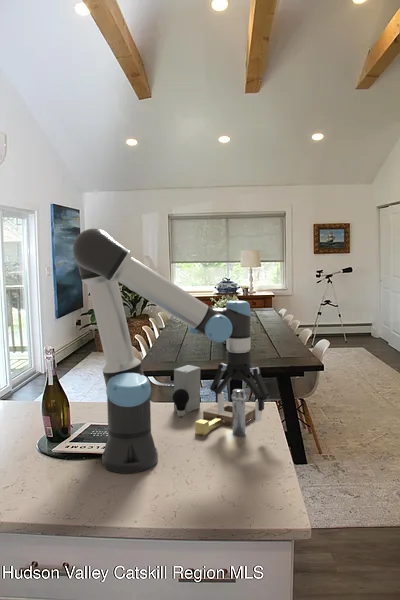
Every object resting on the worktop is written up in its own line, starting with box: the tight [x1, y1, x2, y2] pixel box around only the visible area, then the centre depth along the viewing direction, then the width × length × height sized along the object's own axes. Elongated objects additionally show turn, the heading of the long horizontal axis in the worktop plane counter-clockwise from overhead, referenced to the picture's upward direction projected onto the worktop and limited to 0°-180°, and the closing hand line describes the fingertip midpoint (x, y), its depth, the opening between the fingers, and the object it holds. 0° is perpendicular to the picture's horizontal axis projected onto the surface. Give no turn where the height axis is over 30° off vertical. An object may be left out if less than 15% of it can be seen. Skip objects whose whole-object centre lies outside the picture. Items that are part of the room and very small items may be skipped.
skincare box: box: [173, 364, 201, 414], centre depth 175 cm, size 8×7×16 cm
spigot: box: [231, 388, 247, 437], centre depth 150 cm, size 5×5×14 cm
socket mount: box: [202, 400, 255, 427], centre depth 166 cm, size 14×14×3 cm
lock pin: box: [194, 418, 223, 437], centre depth 155 cm, size 12×3×4 cm, turn 146°
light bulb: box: [172, 389, 189, 418], centre depth 167 cm, size 6×6×10 cm
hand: (239, 416), depth 150 cm, fingers open, 13 cm apart
